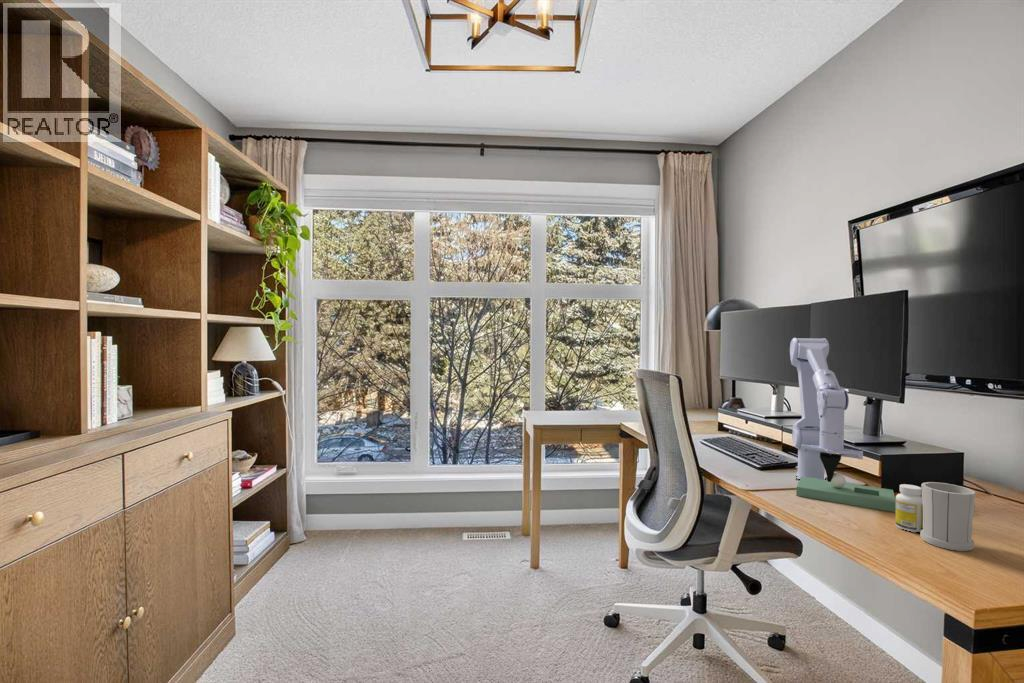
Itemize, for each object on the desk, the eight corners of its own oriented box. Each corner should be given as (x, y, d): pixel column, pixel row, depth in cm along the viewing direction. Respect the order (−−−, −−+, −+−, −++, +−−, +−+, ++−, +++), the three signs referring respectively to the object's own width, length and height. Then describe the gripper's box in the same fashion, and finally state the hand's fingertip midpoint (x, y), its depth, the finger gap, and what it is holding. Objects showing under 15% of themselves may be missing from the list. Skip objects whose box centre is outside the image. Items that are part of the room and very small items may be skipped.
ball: (836, 468, 142) (850, 479, 140) (827, 479, 144) (840, 489, 141) (833, 471, 139) (847, 481, 137) (823, 481, 141) (837, 492, 138)
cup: (920, 529, 116) (921, 477, 116) (973, 540, 111) (975, 485, 110) (919, 544, 108) (921, 488, 108) (977, 556, 102) (979, 497, 102)
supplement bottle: (914, 525, 119) (915, 483, 119) (930, 534, 114) (932, 490, 114) (889, 523, 120) (890, 482, 120) (905, 532, 114) (906, 489, 114)
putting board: (800, 484, 151) (800, 476, 151) (892, 498, 139) (893, 489, 139) (796, 495, 140) (796, 486, 140) (895, 512, 128) (896, 502, 128)
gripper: (800, 430, 142) (799, 479, 142) (863, 437, 133) (862, 489, 133) (802, 428, 147) (801, 474, 147) (863, 434, 139) (862, 483, 139)
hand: (830, 481), depth 141 cm, fingers closed, pressing on ball
